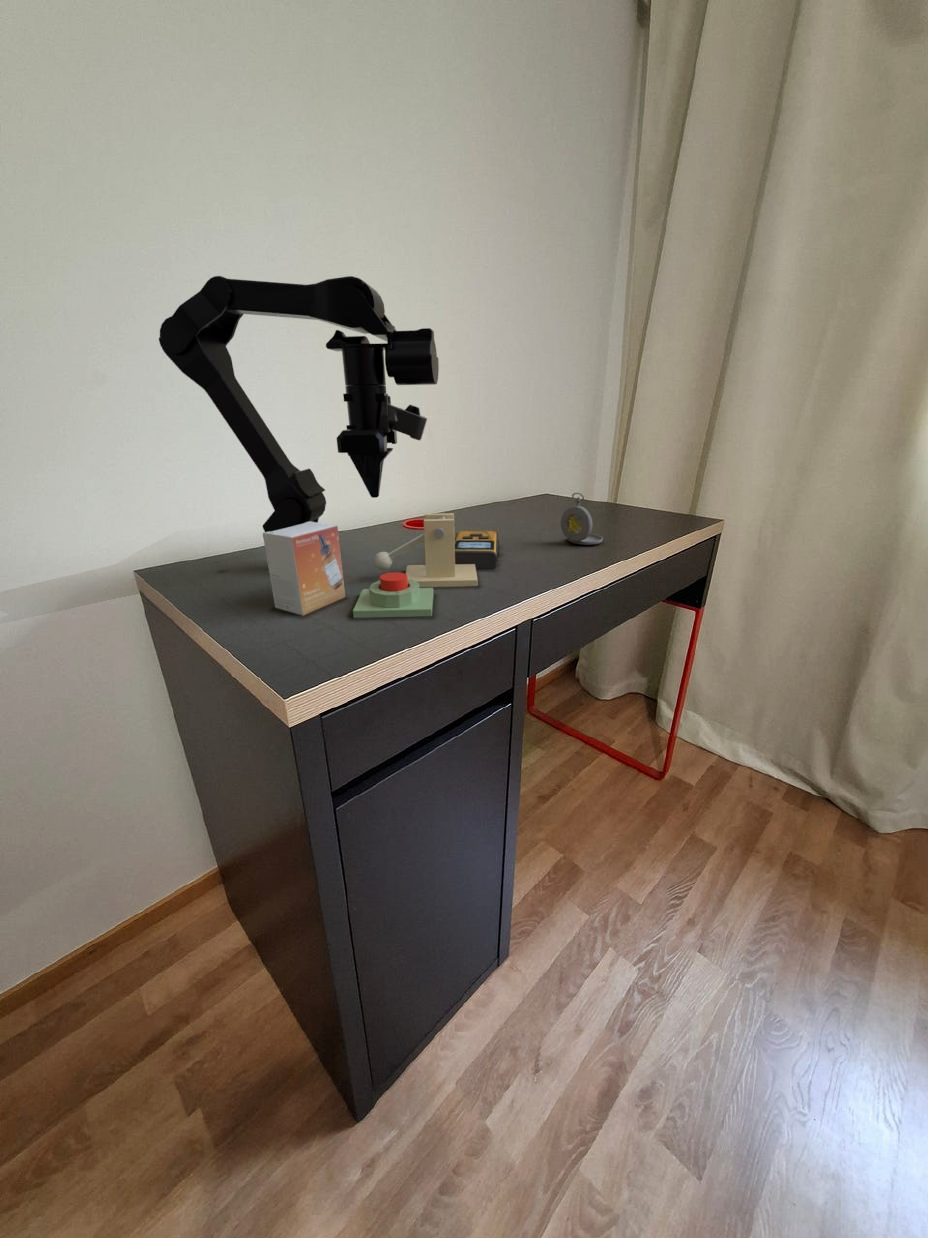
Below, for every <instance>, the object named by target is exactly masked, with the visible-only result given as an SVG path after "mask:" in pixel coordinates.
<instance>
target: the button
mask: <svg viewBox="0 0 928 1238" xmlns="http://www.w3.org/2000/svg"><path fill="white" fill-rule="evenodd" d="M379 580H380V585H381V590H383V591H388V592H395V591H401V590H405V589H407V588H408V579H407V575H406V573H405V572H399V571H398V572H397V571H396V572H395V571H394V572H386V573H382V574H381V575H380V576H379Z"/></svg>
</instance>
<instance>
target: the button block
mask: <svg viewBox="0 0 928 1238" xmlns="http://www.w3.org/2000/svg"><path fill="white" fill-rule="evenodd" d="M433 605H434V587H419V583H417V582H416V581H414V580H411V579H408V588H407V589H405V590H401V591H395V592H388V591H383V590H381V585H380V579H379V580H377V581H375V582H373V583H371V584H370V585H369V588H363V589H362V590H361V592H360V594H359V597H358V599H357V600H356V603H355V605H354V607H353V609H352V617H353V618H354V619H367V618H369V619H370V618H405V617H406V618H407V617H409V618H410V617H411V618H413V617H433Z"/></svg>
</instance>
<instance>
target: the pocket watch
mask: <svg viewBox="0 0 928 1238" xmlns="http://www.w3.org/2000/svg"><path fill="white" fill-rule="evenodd" d="M575 495H580V496H581V497H579V496H578V497H577V498H575V497H574V496H575ZM571 497H572V500H574V501H575V503H576V505H572V506H571V505H570V506H568V508H566V510H564V512H562V515H561V518H560V528H561V532H562V533H563V535H564V536H565V537H566V538H567V541H569V542H570V543H572V544H575V545H579V546H581V545H582V546H593V545H598V544H601V543H602V542H603V540H604V537H603V536H601V535H600V534H595V533H592V529H593V519H592V515H591V514H590V512H589V511H588V509H586V508H585V507H583V506H581V505H580V504H581V503H582V501H584V500H585V495H583V494H582V493H580V492H574V493H572V494H571ZM581 498H582V499H581ZM576 531H578V532H576Z"/></svg>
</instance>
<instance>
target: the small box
mask: <svg viewBox="0 0 928 1238" xmlns="http://www.w3.org/2000/svg"><path fill="white" fill-rule="evenodd" d="M262 538H263V544H264V551H265V556H266V561H267V566H268V573H269V578H270V584H271V590H272V596H273V603H274V607H275V609H278V610H282V611H285V612H289V613H291V614H292V613H293V614H296V615H299V616H305V615H307V614H310V613H313V612H315V611H316V610H319V609H321V608H324V607H326V606H328V605H331V604H333V603H335V602H338V601H340V600H342V599H344V598H346V591H345V581H344V573H343V562H342V555H341V553H342V552H341V545H340V535H339V528H338V525H335V524H329V523H323V522H318V523H317V522H310V521H309V522H306V523H303V524H299V525H295V526H291V527H287V528H283V529H279V530H275V531H271V532H265V531H264V532H262Z"/></svg>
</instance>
